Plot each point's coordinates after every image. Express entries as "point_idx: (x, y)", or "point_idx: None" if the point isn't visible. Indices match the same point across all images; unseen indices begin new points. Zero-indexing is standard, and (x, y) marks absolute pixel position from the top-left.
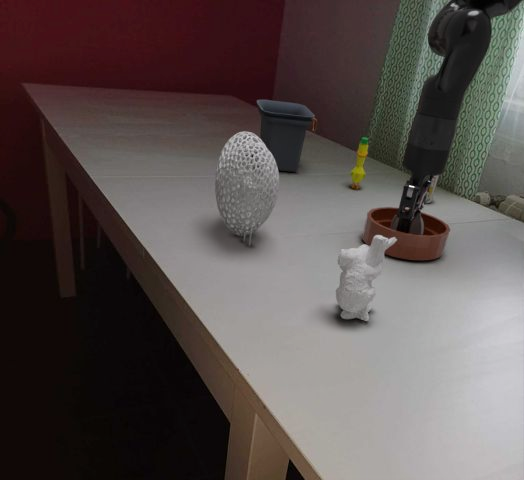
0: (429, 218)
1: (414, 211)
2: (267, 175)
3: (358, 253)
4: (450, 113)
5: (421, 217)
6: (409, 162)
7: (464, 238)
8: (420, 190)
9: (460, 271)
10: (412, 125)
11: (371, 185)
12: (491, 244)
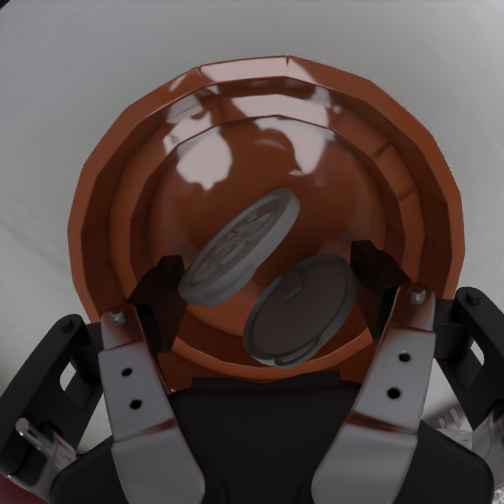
0: (88, 239)
1: (432, 321)
2: None
3: None
4: None
5: (234, 267)
6: None
7: (14, 120)
8: (452, 456)
9: (337, 2)
10: None
11: (7, 378)
12: (7, 53)
